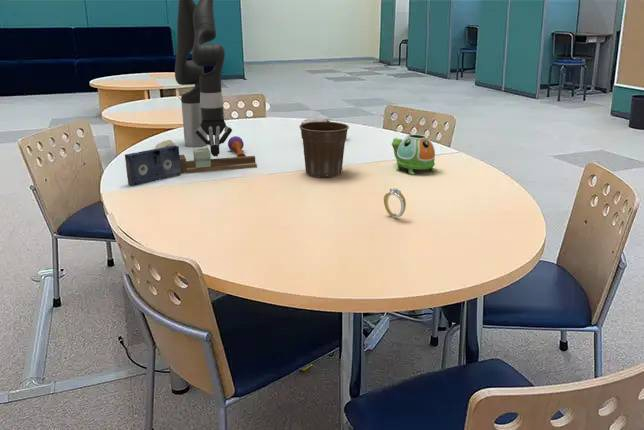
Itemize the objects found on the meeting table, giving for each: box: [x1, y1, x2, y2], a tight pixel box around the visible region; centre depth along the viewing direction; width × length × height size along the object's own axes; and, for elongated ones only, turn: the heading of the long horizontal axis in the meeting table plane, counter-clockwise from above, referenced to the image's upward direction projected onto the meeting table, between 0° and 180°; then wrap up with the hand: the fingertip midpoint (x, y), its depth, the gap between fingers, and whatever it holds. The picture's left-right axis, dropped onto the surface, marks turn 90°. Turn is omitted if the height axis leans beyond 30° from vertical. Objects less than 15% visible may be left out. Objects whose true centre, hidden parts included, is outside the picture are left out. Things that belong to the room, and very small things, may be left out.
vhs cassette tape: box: [124, 144, 182, 187], centre depth 192 cm, size 18×3×10 cm, turn 134°
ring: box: [383, 188, 407, 219], centre depth 157 cm, size 7×3×8 cm, turn 34°
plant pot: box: [299, 121, 350, 178], centre depth 198 cm, size 16×16×16 cm
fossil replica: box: [154, 139, 177, 149], centre depth 212 cm, size 12×8×10 cm
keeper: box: [192, 146, 212, 168], centre depth 204 cm, size 6×5×6 cm
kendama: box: [227, 135, 247, 157], centre depth 224 cm, size 6×6×20 cm
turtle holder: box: [391, 133, 436, 176], centre depth 203 cm, size 12×18×12 cm
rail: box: [179, 154, 258, 175], centre depth 206 cm, size 6×26×5 cm, turn 108°
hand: (215, 155), depth 206 cm, fingers closed
